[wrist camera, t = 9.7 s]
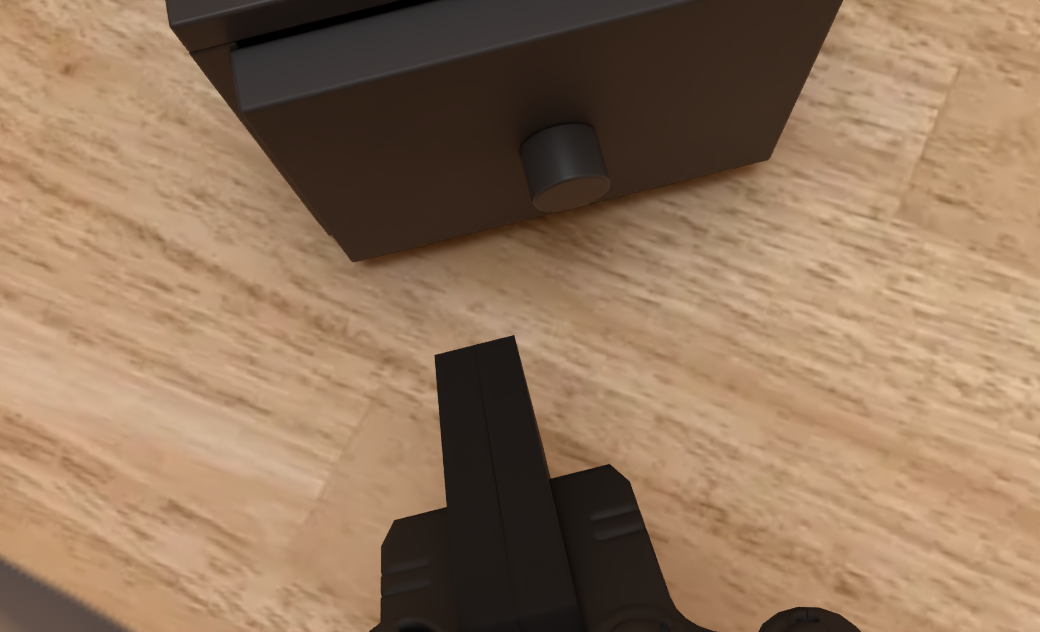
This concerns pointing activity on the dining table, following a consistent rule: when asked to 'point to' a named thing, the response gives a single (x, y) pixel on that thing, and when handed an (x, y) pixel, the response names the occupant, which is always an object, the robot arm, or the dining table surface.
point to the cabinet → (246, 38)
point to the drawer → (518, 106)
